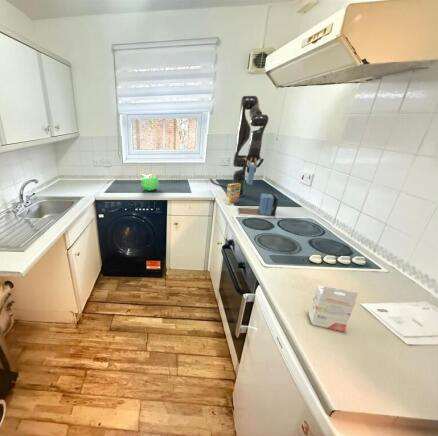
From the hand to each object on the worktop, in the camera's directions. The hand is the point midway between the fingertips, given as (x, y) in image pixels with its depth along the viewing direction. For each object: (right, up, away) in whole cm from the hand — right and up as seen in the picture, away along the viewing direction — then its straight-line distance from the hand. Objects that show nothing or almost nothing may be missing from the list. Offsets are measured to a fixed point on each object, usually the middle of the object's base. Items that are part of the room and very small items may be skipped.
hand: (250, 172), depth 164 cm
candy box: (-7, -20, +18) cm, 28 cm away
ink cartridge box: (-15, -65, -89) cm, 111 cm away
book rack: (+2, -28, -2) cm, 28 cm away
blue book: (0, -7, +3) cm, 7 cm away
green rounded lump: (-70, -6, +54) cm, 88 cm away
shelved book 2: (+9, -28, -4) cm, 30 cm away
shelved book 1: (+6, -27, -3) cm, 28 cm away
